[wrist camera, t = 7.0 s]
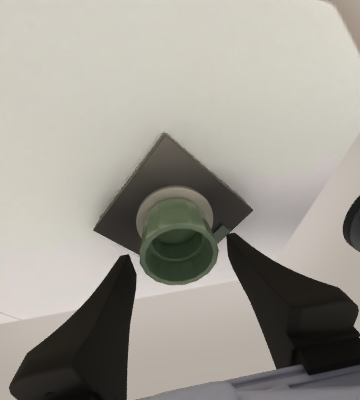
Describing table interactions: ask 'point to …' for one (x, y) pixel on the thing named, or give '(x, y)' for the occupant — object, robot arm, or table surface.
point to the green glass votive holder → (177, 243)
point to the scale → (170, 195)
